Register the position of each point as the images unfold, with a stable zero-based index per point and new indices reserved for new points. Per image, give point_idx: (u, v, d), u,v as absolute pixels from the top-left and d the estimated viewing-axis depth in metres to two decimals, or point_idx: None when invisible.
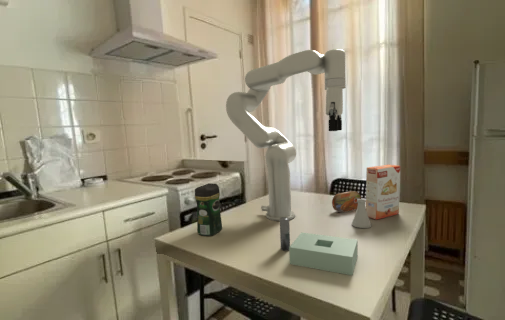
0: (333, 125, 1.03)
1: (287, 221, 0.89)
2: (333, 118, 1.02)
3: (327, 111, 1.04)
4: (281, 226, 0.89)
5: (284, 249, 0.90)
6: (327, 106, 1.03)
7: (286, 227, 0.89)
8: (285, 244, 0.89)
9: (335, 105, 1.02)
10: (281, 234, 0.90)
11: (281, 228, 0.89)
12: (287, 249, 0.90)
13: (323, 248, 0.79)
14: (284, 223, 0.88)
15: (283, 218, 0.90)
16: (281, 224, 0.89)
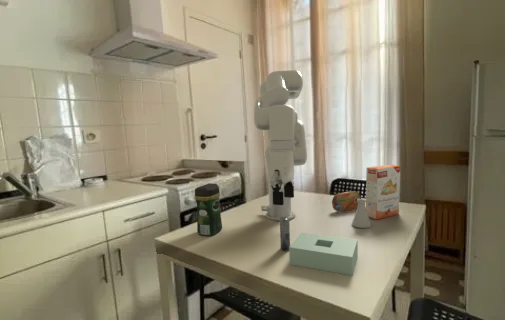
0: (277, 198, 0.83)
1: (287, 221, 0.89)
2: (277, 190, 0.82)
3: (271, 180, 0.84)
4: (281, 226, 0.89)
5: (284, 249, 0.90)
6: (271, 174, 0.84)
7: (286, 227, 0.89)
8: (285, 244, 0.89)
9: (280, 174, 0.83)
10: (281, 234, 0.90)
11: (281, 228, 0.89)
12: (287, 249, 0.90)
13: (323, 248, 0.79)
14: (284, 223, 0.88)
15: (283, 218, 0.90)
16: (281, 224, 0.89)
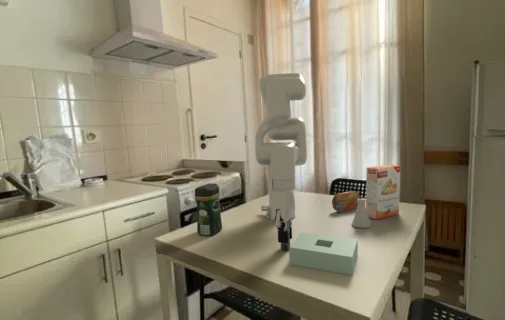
0: (282, 237, 0.88)
1: (287, 221, 0.89)
2: (282, 230, 0.87)
3: (272, 218, 0.86)
4: None
5: (284, 249, 0.90)
6: (272, 213, 0.86)
7: None
8: (285, 244, 0.89)
9: (281, 213, 0.85)
10: None
11: None
12: (287, 249, 0.90)
13: (323, 248, 0.79)
14: None
15: None
16: None
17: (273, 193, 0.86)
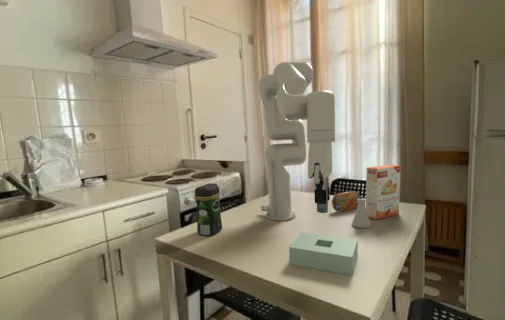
0: (320, 197, 0.78)
1: (325, 179, 0.79)
2: (320, 188, 0.77)
3: (310, 174, 0.76)
4: None
5: (321, 211, 0.80)
6: (310, 168, 0.76)
7: None
8: (322, 205, 0.79)
9: (320, 168, 0.75)
10: None
11: None
12: (325, 211, 0.80)
13: (323, 248, 0.79)
14: None
15: (320, 176, 0.80)
16: None
17: (311, 145, 0.76)
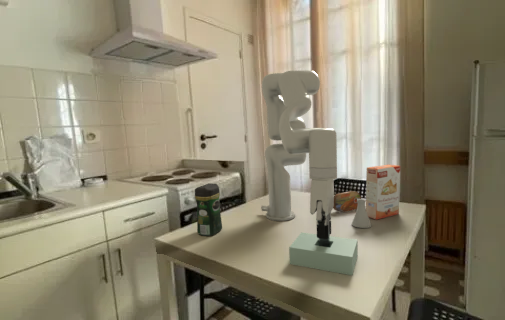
0: (322, 232, 0.79)
1: None
2: (322, 224, 0.78)
3: (312, 211, 0.77)
4: None
5: (324, 245, 0.80)
6: (312, 205, 0.77)
7: None
8: (324, 240, 0.80)
9: (322, 205, 0.75)
10: None
11: None
12: (327, 245, 0.80)
13: (323, 248, 0.79)
14: None
15: None
16: None
17: (313, 183, 0.77)
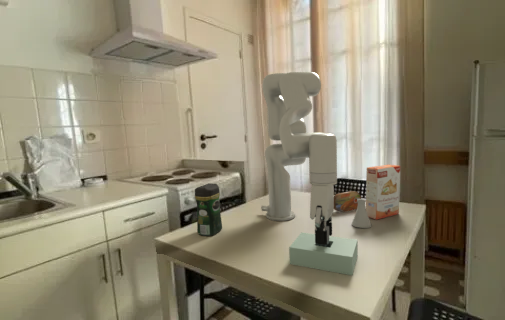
0: (321, 238, 0.78)
1: (327, 229, 0.80)
2: (321, 230, 0.77)
3: (312, 216, 0.77)
4: None
5: None
6: (312, 210, 0.77)
7: None
8: None
9: (322, 210, 0.76)
10: None
11: None
12: None
13: (323, 248, 0.79)
14: None
15: None
16: None
17: (313, 188, 0.77)
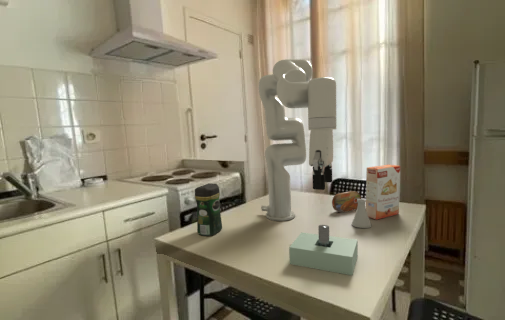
0: (319, 182, 0.75)
1: (327, 229, 0.80)
2: (318, 173, 0.74)
3: (311, 162, 0.76)
4: (320, 235, 0.81)
5: None
6: (311, 155, 0.75)
7: (326, 235, 0.80)
8: None
9: (321, 155, 0.74)
10: (320, 243, 0.81)
11: (320, 237, 0.81)
12: None
13: (323, 248, 0.79)
14: (324, 231, 0.80)
15: (322, 225, 0.82)
16: (320, 232, 0.81)
17: (312, 133, 0.75)
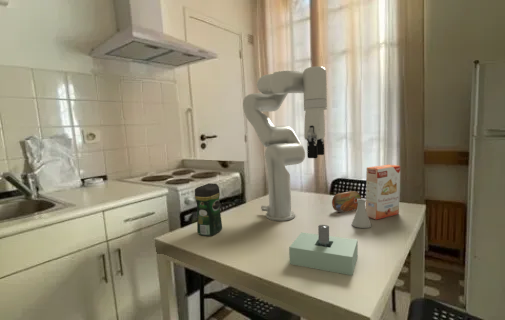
0: (312, 152, 0.91)
1: (327, 229, 0.80)
2: (312, 144, 0.91)
3: (306, 136, 0.93)
4: (320, 235, 0.81)
5: None
6: (306, 130, 0.92)
7: (326, 235, 0.80)
8: None
9: (314, 129, 0.91)
10: (320, 243, 0.81)
11: (320, 237, 0.81)
12: None
13: (323, 248, 0.79)
14: (324, 231, 0.80)
15: (322, 225, 0.82)
16: (320, 233, 0.81)
17: (307, 112, 0.92)
